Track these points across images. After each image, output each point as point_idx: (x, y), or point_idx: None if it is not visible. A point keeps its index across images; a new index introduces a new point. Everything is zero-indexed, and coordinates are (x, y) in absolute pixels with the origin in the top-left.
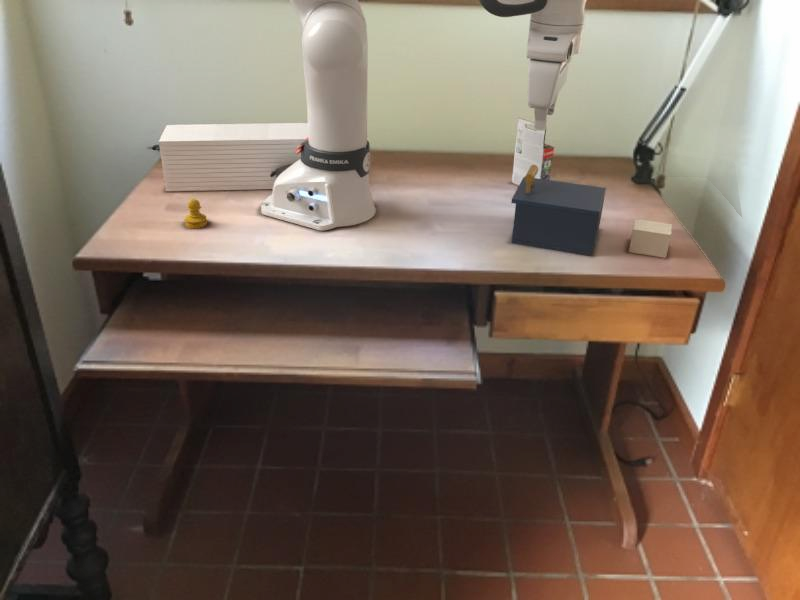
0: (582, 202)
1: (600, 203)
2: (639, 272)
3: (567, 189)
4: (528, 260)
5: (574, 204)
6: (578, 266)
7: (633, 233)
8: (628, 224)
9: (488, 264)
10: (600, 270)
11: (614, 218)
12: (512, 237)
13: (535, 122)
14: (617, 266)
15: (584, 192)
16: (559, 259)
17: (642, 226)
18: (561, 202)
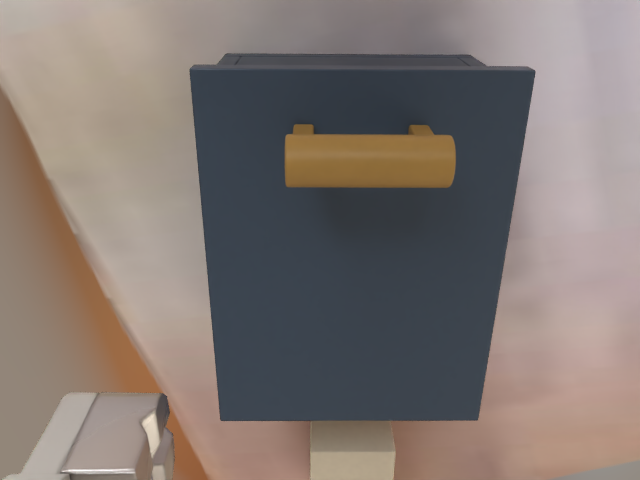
0: (284, 362)
1: (302, 417)
2: (198, 423)
3: (412, 294)
4: (117, 139)
5: (250, 338)
6: (155, 287)
7: (310, 443)
8: (510, 384)
9: (8, 3)
10: (160, 341)
11: (549, 347)
12: (222, 58)
13: (41, 446)
14: (207, 377)
15: (398, 358)
16: (175, 231)
17: (341, 471)
18: (248, 291)
